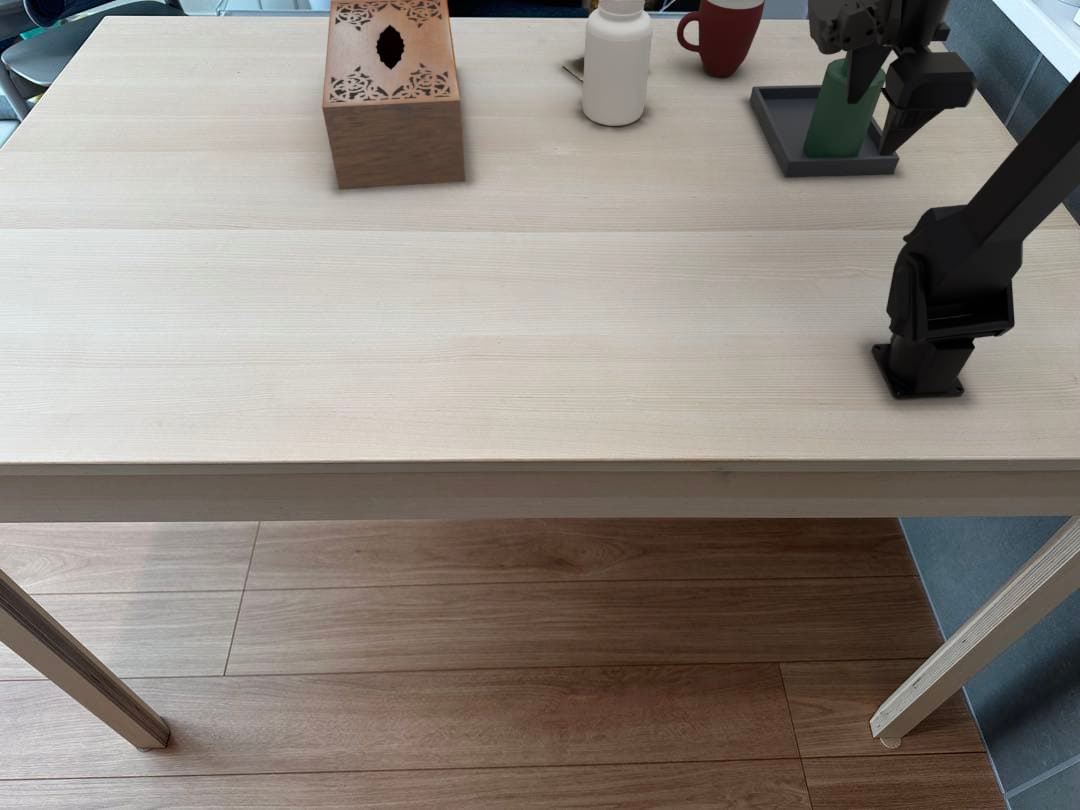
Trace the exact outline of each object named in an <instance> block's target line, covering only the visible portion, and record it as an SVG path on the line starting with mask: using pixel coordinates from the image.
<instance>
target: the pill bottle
mask: <svg viewBox="0 0 1080 810" xmlns="http://www.w3.org/2000/svg"><path fill="white" fill-rule="evenodd" d="M645 3H646V0H599V4H598V8H597V9H596V10H594V11H593V12H592V13H591V14H590V16H589V15H588V18H587V20H586V24H585V38H584V56H583V57H584V78H583V81H582V82H583V83H582V84H583V85H582V99H581V100H582V101H581V103H582V111H583V114H584V115H585V117H586V118H587V119H589V120H591V121H592V122H594V123H597V124H600V125H603V126H611V127H613V126H615V127H616V126H617V127H618V126H625V125H630V124H633V123H634V122H636V121H637V120H639V119H640V118H641V117H642V115H643V113H644V109H645V102H646V94H647V87H648V77H649V67H650V57H651V49H652V48H651V47H652V40H653V33H654V32H653V31H654V25H653V21H652V18H651V16H650V15H649V14H648V13H647V11H645V10H644V9H645Z"/></svg>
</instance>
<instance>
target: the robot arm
mask: <svg viewBox="0 0 1080 810" xmlns="http://www.w3.org/2000/svg"><path fill="white" fill-rule="evenodd" d="M951 3H952V0H807V10H808V11H807V14H808V25H809V36H810V38H811V39H813V41H814V43H815V44H816V46H817V49H818V51H819V53H820V54H822V55H825V56H829V55H834V54H837V53H838V54H839V53H840V52H841V51H843V52H846V53H847V90H846V102H847V103H848V104H857V103H858V102H859V101H860V99H861V98H862V97H863V95H864V94H865V92H866V91H867V90H868V88H869V86H870V85H871V83H872V82H873V80H874V78H875V77H876V75H877V74H878V72H879V70H880V69H881V68H882V67H883V66H884V64H885V62H886V60H887V59H888V57H889V56H890V54H891V53H892V52H893V53H894V54H895V55H896V57H897V58H896V59H894V60H893V61H891V62H890V63H889V65H888V67H887V70H886V72H885V73H886V76H885V83H884V86H885V87H883V88H880V90H881V95H883V97H884V98H885V99H886V101H887V102H888V109H887V113H886V116H885V121H884V125H883V129H882V131H883V132H882V136H881V140H880V145H879V151H878V154H879V155H880V156H890V155H892V154H893V153H894V152H895V151H896V152H897V150H899V149H900V148H901V147H902V146H903V145H904V144H905V143H906V142H907V141H909V140H910V139H911V138H912V137H913V136H914V135H915V134H917V133H918V131H919V130H921V129H922V128H923V127H924V126H925V125H927V124H928V123H929V122H930V121H932V120H933V119H934V118H936V117H937V116H939V115H940V114H941V113H943V111H945V110H954V109H957V108H959V109H960V108H961V109H962V108H966V107H967V106H969V104H970V103H971V101H972V99H973V96H974V94H975V92H976V90H977V88H978V85H979V83H980V82H979V80H978V78H977V77H976V75H975V73H974V71H973V70H972V69H971V68H970V67H969V65H968V64H967V63H966V62H965V61H964V59H962V57H961V56H960V55H959V53H958V52H957V51H932V50H931V48H930V47H929V46H930V45H931V43H932V42H947V40H948V38H949V35H950V33H951V31H952V29H951V27H950V26H948V24H947V23H946V22H945V21H944V20H945V18H946V15H947V12H948V10H949V8H950V5H951ZM1079 186H1080V70H1079V71H1078V72H1077V74H1076V75H1075V76H1074V77H1073V78H1072V80H1071V81H1070V82H1069V83H1068V84H1067V86H1066V87H1065V88H1064V89H1063V90H1062V91H1061V92H1060V94H1059V95H1058V96H1057V97H1056V98H1055V100H1054V101H1053V102H1052V103H1051V104H1050V105H1049V107H1048V108H1047V109H1046V110H1045V111H1044V113H1043V114H1042V115H1041V116H1040V117H1039V119H1038V120H1037V121H1036V122H1035V124H1033V126H1032V127H1031V128H1030V129H1029V131H1028V132H1027V133H1026V134H1025V136H1023V137H1022V139H1021V140H1020V142H1019V143H1018V144H1017V145H1016V146H1015V147H1014V148H1013V149H1012V151H1011V152H1010V153H1009V154H1008V155H1007V156H1006V158H1004V160H1003V161H1002V163H1001V164H1000V165H999V166H998V167H997V168H996V170H995V171H994V172H993V173H992V174H991V175H990V177H989V178H988V179H987V180H986V182H985V183H983V185H981V187H980V189H979V190H978V191H977V192H976V193H975V195H974V196H973V197H972V198H971V199H970V200H969V202H968V203H966V204H955V205H946V206H945V205H944V206H936V207H935V206H934V207H930V208H929V209H927V210H926V211H925V212H924V213H922V215H920V217H919V219H918V221H917V223H916V225H915V226H914V228H913V229H912V230H911V231H910V232H909V233H908V234H905V235H904V236H903V237H902V240H903V242H905V244H904V245H903V246H902V247H901V250H900V251H899V253H898V254H897V258H896V261H895V263H894V265H893V269H892V277H891V280H890V285H889V292H888V296H887V302H886V309H885V312H886V314H887V315H888V317H889V318H890V324H889V325H888V330H889V331H890V332H891V333H892V335H891V337H890V339H889V341H890V342H889V343H874V344H873V345H872V346H871V349H870V351H871V354H872V355H873V358H874V360H875V362H876V364H877V367H878V368H879V370H880V372H881V374H882V377H883V379H884V380H885V383H886V385H887V387H888V389H889V391H890V393H891V395H892V397H893V398H894V399H897V400H908V399H909V400H910V399H911V400H912V399H929V398H930V399H931V398H932V399H933V398H950V397H951V398H952V397H953V398H954V397H962V396H963V394H964V393H965V388H964V386H963V384H962V382H961V380H960V379H959V377H958V376H959V375H960V373H961V371H962V370H963V368H964V367H965V366H966V364H967V362H968V361H969V358H970V357H971V355H972V354H973V352H974V350H976V345H975V344H974V341H975V339H981V338H989V337H994V338H998V337H1002V336H1003V335H1005V334H1007V333H1008V332H1009V331H1011V330H1012V329H1013V328H1014V327H1015V325H1016V321H1015V319H1016V318H1015V305H1014V304H1015V303H1014V290H1013V278H1014V277H1015V276H1016V275H1017V273H1018V271H1020V269H1021V268H1022V266H1023V263H1024V241H1025V240H1026V239H1027V237H1029V235H1031V234H1032V233H1033V232H1034V231H1035V230H1036V229H1037V228H1038V227H1039V226H1040V225H1041V223H1043V222H1044V221H1045V220H1046V219H1047V218H1048V217H1049V216H1050V215H1051V214H1052V213H1053V212H1054V211H1055V210H1056V209H1057V208H1058V207H1059V206H1060V205H1061V204H1062V203H1063V202H1064V201H1066V199H1067V198H1068V197H1069V196H1070V195H1071V194H1072V193H1073V192H1074V191H1075V190H1076V189H1077V188H1078V187H1079Z"/></svg>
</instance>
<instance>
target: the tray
mask: <svg viewBox="0 0 1080 810" xmlns="http://www.w3.org/2000/svg"><path fill="white" fill-rule="evenodd" d="M821 86H822V84H801V85H800V84H799V85H798V84H797V85H796V84H795V85H757V86H756V85H753V86H752V88H751V93H750V97H749V103H750V106H751V108H752V111H753V112H754V115H755V116H756V119H757V120H758V123H759V124H760V128H761V129H762V131H763V134H764V135H765V138H766V139H767V142H768V144H769V146H770V148H771V150H772V153H773V155H774V157H775V158H776V161H777V163H778V165H779V167H780V170H781V172H782V174H783V176H784V177H785V178H793V177H794V178H795V177H827V176H829V177H831V176H859V175H863V176H864V175H891V174H895V171H896V169H897V166H898V163H899V161H900V159H901V158H900V157H899V154H898V153H897V150H896V151H895V152H894V153H893V154H892V155H890V156H880V155H879V154H878V151H879V145H880V140H881V136H882V132H883V129H882V128H881V126H880V125H879V123H878V122H877V121H876V119H875V118H874V115H873V116H872V119H871V121H870V124H869V127H868V130H867V132H866V135H865V138H864V141H863V143H862V146H861V149H860V152H859V155H858V157H833V158H809V157H808V156H807V155H806V154H805V152H804V150H803V146H804V142H805V139H806V136H807V132H808V129H809V126H810V122H811V119H812V116H813V112H814V109H815V106H816V102H817V99H818V96H819V92H820V89H821Z"/></svg>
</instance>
